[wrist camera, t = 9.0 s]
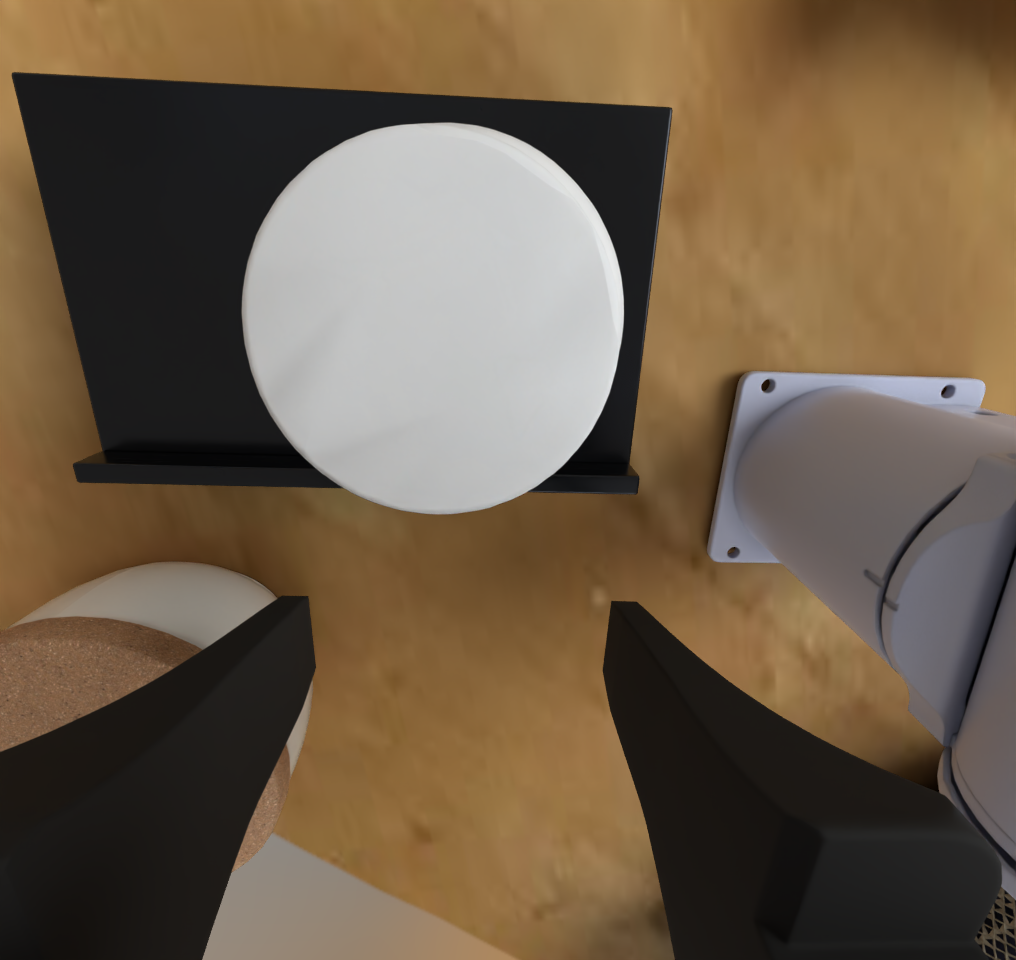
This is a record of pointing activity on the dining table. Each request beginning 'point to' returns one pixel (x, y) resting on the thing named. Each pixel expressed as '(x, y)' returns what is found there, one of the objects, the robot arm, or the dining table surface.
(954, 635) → the robot arm
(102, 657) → the trinket box
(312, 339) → the supplement bottle
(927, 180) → the dining table surface
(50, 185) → the black lipped tray
